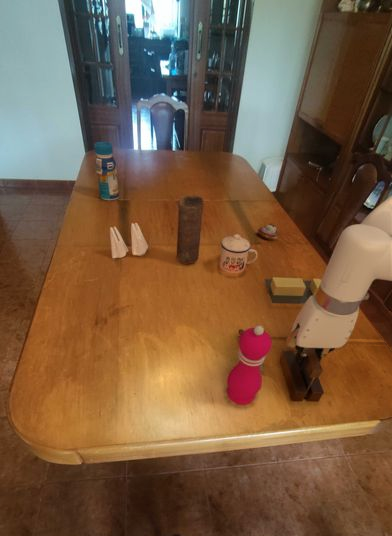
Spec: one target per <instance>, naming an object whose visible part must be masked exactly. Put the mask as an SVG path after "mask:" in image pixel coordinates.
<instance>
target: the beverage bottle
mask: <svg viewBox="0 0 392 536" xmlns="http://www.w3.org/2000/svg"><path fill="white" fill-rule="evenodd" d="M93 147H94V153H95V155H96V157H95V160H94V165H95V174H96V177H97V182H98V183H97V185H98V191H99V197H100V198H101V199H102V200H104V201H115V200H117V199H119V198H120V191H119V183H118V169H117V167H116V165H117V163H116V160H115V158H114V156H113V153H114V152H113V145H112V143H110V142H107V141H97V142H94V144H93Z"/></svg>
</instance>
